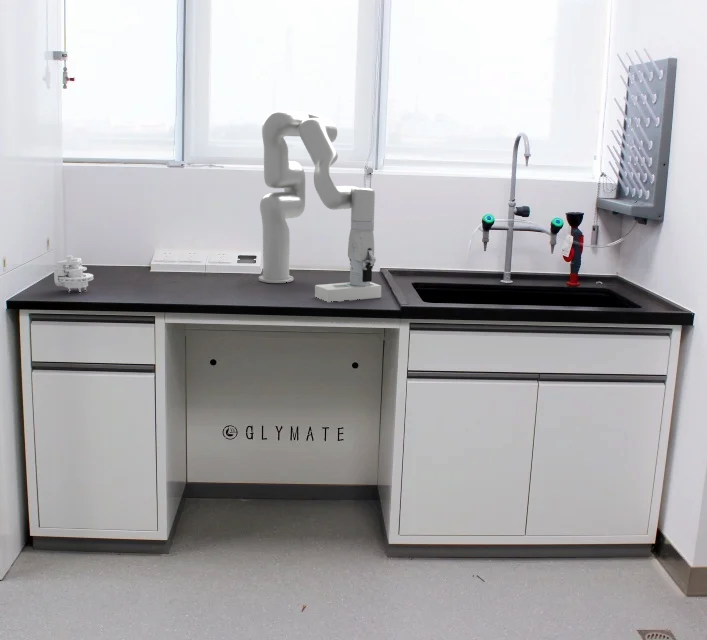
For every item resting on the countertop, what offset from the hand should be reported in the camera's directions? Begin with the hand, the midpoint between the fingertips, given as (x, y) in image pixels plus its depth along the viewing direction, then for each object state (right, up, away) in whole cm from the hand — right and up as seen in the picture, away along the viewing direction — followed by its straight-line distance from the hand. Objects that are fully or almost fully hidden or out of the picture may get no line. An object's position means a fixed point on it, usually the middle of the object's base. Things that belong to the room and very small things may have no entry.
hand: (360, 279), depth 263 cm
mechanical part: (-94, -4, -4) cm, 94 cm away
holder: (-4, -6, -1) cm, 7 cm away
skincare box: (0, -2, 0) cm, 2 cm away
